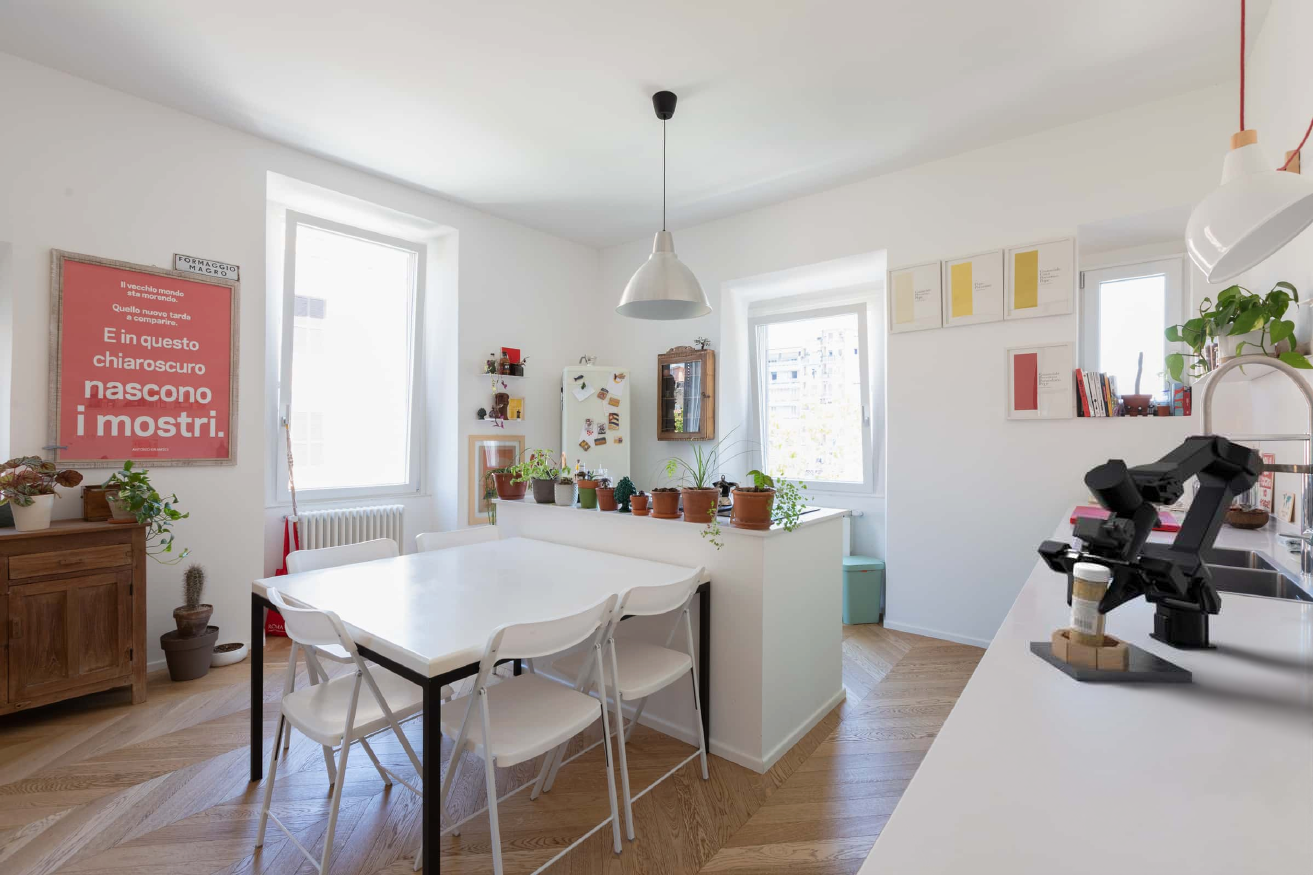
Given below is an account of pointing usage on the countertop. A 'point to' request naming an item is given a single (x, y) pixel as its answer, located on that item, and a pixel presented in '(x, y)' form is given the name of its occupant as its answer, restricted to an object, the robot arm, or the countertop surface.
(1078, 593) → the sprinkles bottle
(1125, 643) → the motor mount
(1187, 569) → the robot arm
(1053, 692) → the countertop surface
